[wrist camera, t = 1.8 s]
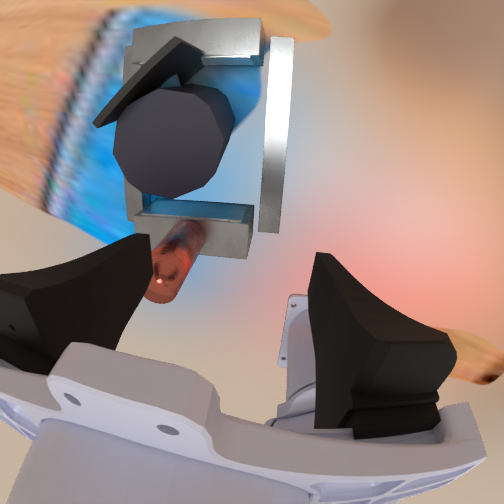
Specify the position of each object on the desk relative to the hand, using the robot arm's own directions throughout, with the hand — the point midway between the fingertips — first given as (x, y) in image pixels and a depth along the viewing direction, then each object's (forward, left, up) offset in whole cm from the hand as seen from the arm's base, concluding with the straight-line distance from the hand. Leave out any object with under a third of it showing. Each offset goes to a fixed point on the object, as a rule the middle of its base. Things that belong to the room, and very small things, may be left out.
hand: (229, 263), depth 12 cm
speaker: (+6, +4, -11) cm, 13 cm away
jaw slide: (-2, +4, -10) cm, 11 cm away
